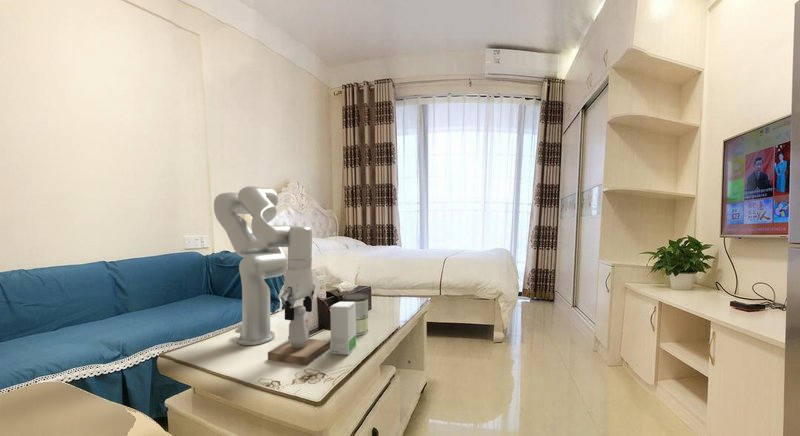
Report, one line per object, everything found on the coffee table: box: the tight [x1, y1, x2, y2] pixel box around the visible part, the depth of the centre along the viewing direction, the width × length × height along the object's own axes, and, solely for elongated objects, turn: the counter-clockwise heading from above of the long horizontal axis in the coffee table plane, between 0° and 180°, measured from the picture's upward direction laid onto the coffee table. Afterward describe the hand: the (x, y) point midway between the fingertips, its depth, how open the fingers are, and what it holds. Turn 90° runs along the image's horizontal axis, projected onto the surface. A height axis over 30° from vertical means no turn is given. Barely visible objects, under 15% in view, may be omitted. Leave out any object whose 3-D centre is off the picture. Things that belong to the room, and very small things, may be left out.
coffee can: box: [341, 292, 369, 337], centre depth 125 cm, size 10×10×14 cm
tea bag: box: [288, 312, 310, 341], centre depth 117 cm, size 4×7×10 cm, turn 160°
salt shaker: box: [288, 305, 309, 349], centre depth 103 cm, size 6×6×13 cm
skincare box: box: [329, 301, 357, 356], centre depth 106 cm, size 8×7×16 cm
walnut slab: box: [267, 338, 331, 367], centre depth 103 cm, size 14×14×2 cm
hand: (298, 315), depth 104 cm, fingers open, 9 cm apart
